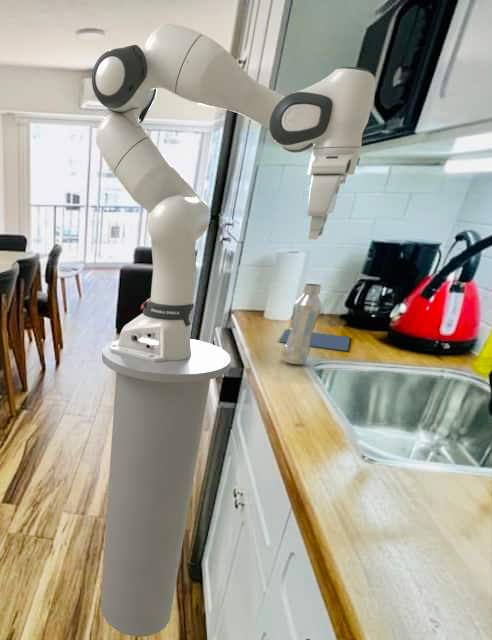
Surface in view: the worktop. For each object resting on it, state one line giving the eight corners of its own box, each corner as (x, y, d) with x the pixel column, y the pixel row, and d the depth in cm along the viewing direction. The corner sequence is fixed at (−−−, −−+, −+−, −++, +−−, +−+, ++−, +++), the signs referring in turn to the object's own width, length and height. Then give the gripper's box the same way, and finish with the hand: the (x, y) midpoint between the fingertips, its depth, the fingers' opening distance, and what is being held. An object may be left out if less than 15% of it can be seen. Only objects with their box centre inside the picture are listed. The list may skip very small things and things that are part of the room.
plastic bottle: (306, 361, 129) (327, 283, 119) (306, 368, 124) (328, 288, 114) (280, 357, 131) (299, 281, 122) (279, 365, 126) (298, 286, 116)
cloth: (279, 342, 144) (280, 341, 144) (287, 330, 156) (287, 329, 156) (347, 351, 136) (347, 350, 136) (349, 338, 149) (349, 337, 148)
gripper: (320, 167, 109) (305, 233, 116) (310, 163, 94) (293, 240, 100) (351, 166, 106) (334, 234, 113) (346, 163, 91) (326, 242, 98)
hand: (315, 237), depth 107 cm, fingers open, 8 cm apart
